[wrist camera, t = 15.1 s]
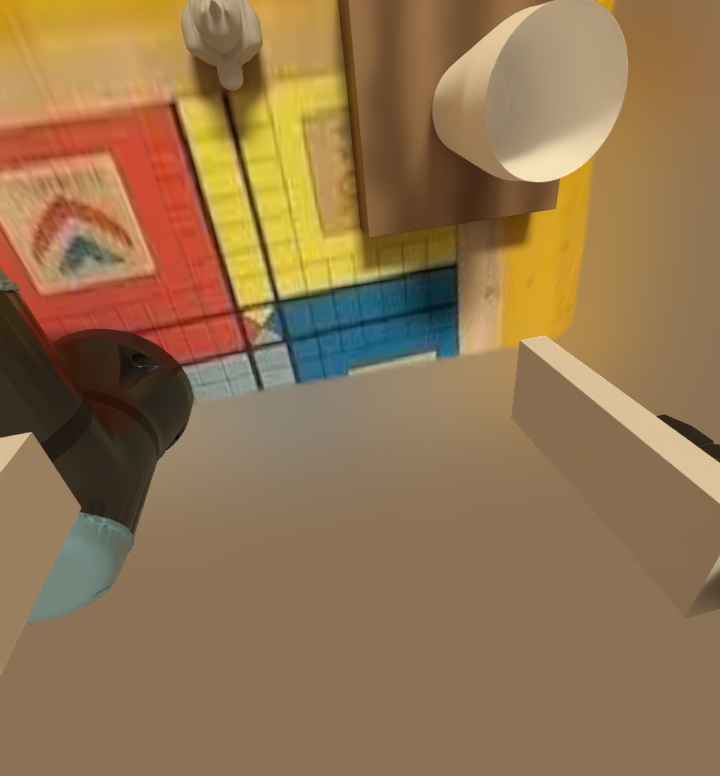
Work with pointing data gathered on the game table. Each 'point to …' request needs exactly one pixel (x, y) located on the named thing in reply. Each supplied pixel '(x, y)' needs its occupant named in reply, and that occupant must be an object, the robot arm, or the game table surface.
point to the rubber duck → (222, 36)
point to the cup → (535, 92)
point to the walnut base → (420, 116)
